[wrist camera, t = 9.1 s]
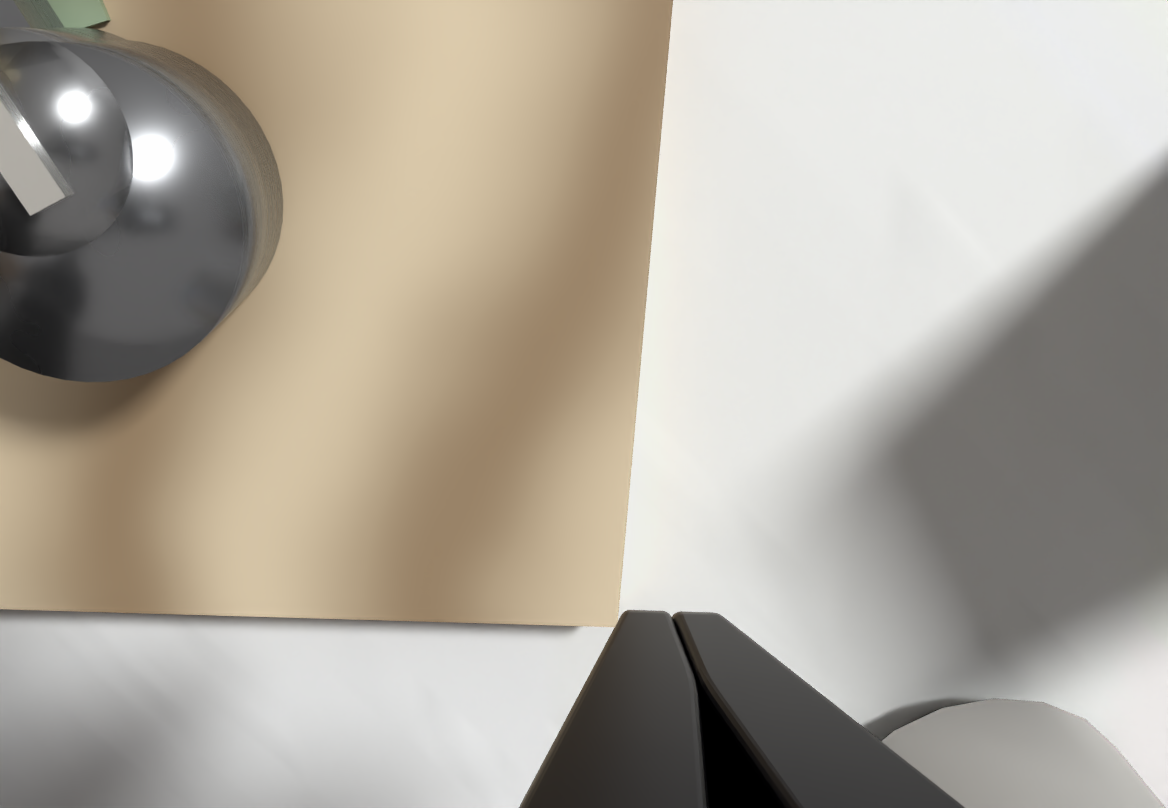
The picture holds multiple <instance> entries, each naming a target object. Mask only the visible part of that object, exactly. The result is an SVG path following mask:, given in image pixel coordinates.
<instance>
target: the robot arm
mask: <svg viewBox="0 0 1168 808" xmlns="http://www.w3.org/2000/svg"><path fill="white" fill-rule="evenodd" d="M519 808H965V807H964V806H963V805H961V804H960V803H959V802H958V801H956V800H955V799H954V798H952V797H951V796H950V795H949V794H947V793H946V792H945V791H944V790H942V789H941V788H940V787H939V786H937V785H936V784H935V783H933V782H932V781H931V780H930V779H928V778H927V777H926V776H925V775H923V774H922V773H921V772H919V771H918V770H917V769H916V768H914V767H913V766H912V765H911V764H909V763H908V762H907V761H906V760H904V759H903V758H902V757H900V756H899V755H898V754H897V753H895V752H894V751H893V750H892V749H890V748H889V747H888V746H887V745H885V744H884V743H883V742H881V741H880V740H879V739H878V738H876V737H875V736H874V735H873V734H871V733H870V732H869V731H867V730H866V729H865V728H864V727H862V726H861V725H860V724H859V723H857V722H856V721H855V720H854V719H852V718H851V717H850V716H848V715H847V714H846V713H845V712H843V711H842V710H841V709H840V708H838V707H837V706H836V705H834V704H833V703H832V702H831V701H829V700H828V699H827V698H826V697H824V696H823V695H822V694H821V693H819V692H818V691H817V690H815V689H814V688H813V687H812V686H810V685H809V684H808V683H807V682H805V681H804V680H803V679H802V678H800V677H799V676H798V675H796V674H795V673H794V672H793V671H791V670H790V669H789V668H788V667H786V666H785V665H784V664H782V663H781V662H780V661H779V660H777V659H776V658H775V657H774V656H772V655H771V654H770V653H769V652H767V651H766V650H765V649H763V648H762V647H761V646H760V645H758V644H757V643H756V642H755V641H753V640H752V639H751V638H749V637H748V636H747V635H746V634H744V633H743V632H742V631H741V630H739V629H738V628H737V627H736V626H734V625H733V624H732V623H730V622H729V621H728V620H727V619H725V618H724V617H723V616H721V615H720V614H717V613H711V612H677V613H675V614H674V615H673V616H672V617H671V616H670V614H669V613H667V612H665V611H646V610H627V611H625V612H624V613H623V614H622V615H621V617H620V618H619V620H618V622H617V624H616V626H615V628H614V630H613V632H612V634H611V635H610V637H609V639H608V641H607V643H606V645H605V647H604V649H603V650H602V652H601V654H600V656H599V658H598V660H597V662H596V664H595V665H594V667H593V669H592V671H591V673H590V675H589V677H588V679H587V681H586V682H585V684H584V686H583V688H582V690H581V692H580V694H579V696H578V697H577V699H576V701H575V703H574V705H573V707H572V709H571V711H570V713H569V714H568V716H567V718H566V720H565V722H564V724H563V726H562V728H561V729H560V731H559V733H558V735H557V737H556V739H555V741H554V743H553V744H552V746H551V748H550V750H549V752H548V754H547V756H546V758H545V760H544V761H543V763H542V765H541V767H540V769H539V771H538V773H537V775H536V776H535V778H534V780H533V782H532V784H531V786H530V788H529V790H528V791H527V793H526V795H525V797H524V799H523V801H522V803H521V805H520V807H519Z"/></svg>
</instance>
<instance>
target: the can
mask: <svg viewBox="0 0 1168 808" xmlns="http://www.w3.org/2000/svg"><path fill="white" fill-rule="evenodd" d="M881 742H883V743H884V744H885V745H887V746H888V747H889V748H890V749H892V750H893V751H894V752H895V753H897V754H898V755H899V756H900V757H902V758H903V759H904V760H906V761H907V762H908V763H909V764H911V765H912V766H913V767H914V768H916V769H917V770H918V771H919V772H921V773H922V774H923V775H925V776H926V777H927V778H928V779H930V780H931V781H932V782H933V783H935V784H936V785H937V786H939V787H940V788H941V789H942V790H944V791H945V792H946V793H947V794H949V795H950V796H951V797H952V798H954V799H955V800H956V801H958V802H959V803H960V804H961V805H963V806H964V807H965V808H1165V806H1164V805H1163V804H1162V803H1161V801H1160V800H1159V799H1158V798H1157V797H1156V795H1155V794H1154V793H1153V792H1152V790H1151V789H1150V788H1149V787H1148V786H1147V784H1146V783H1145V782H1144V781H1143V779H1142V778H1141V777H1140V776H1139V775H1138V773H1137V772H1136V771H1135V770H1134V768H1133V767H1132V766H1131V765H1130V764H1129V762H1128V761H1127V760H1126V759H1125V757H1124V756H1123V755H1122V754H1121V753H1120V751H1119V750H1118V749H1117V748H1116V747H1115V746H1114V745H1113V744H1112V743H1111V742H1110V741H1109V740H1108V739H1107V738H1106V737H1105V736H1103V735H1102V734H1101V733H1100V732H1099V731H1098V730H1097V729H1096V728H1095V727H1094V726H1093V725H1091V724H1090V723H1089V722H1088V721H1087V720H1086V719H1084V718H1081V717H1079V716H1076V715H1074V714H1072V713H1069V712H1067V711H1064V710H1062V709H1059V708H1057V707H1054V706H1052V705H1049V704H1047V703H1044V702H1034V701H1021V700H1008V699H996V698H993V699H988V700H982V701H977V702H972V703H967V704H961V705H956V706H951V707H946V708H941V709H939V710H937V711H934V712H932V713H930V714H928V715H926V716H924V717H922V718H920V719H917V720H915V721H913V722H911V723H909V724H907V725H905V726H902V727H900V728H899V729H897V730H894V731H893V732H892V733H891V734H889V735H888V736H887V737H886V738H885V739H883V740H882V741H881Z"/></svg>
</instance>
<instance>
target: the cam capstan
mask: <svg viewBox="0 0 1168 808" xmlns="http://www.w3.org/2000/svg"><path fill="white" fill-rule="evenodd" d="M282 222H283V193H282V183H281V179H280V174H279V170H278V166H277V162H276V160H275V157H274V154H273V151H272V149H271V146H270V144H269V142H268V140H267V138H266V136H265V134H264V132H263V130H262V128H261V126H260V125H259V123H258V122H257V120H256V119H255V117H254V116H253V114H252V113H251V111H250V110H249V109H248V107H247V106H246V105H245V104H244V103H243V102H242V100H241V99H240V98H239V97H238V96H237V95H236V93H235V92H233V91H232V90H231V89H230V88H229V87H228V86H227V85H226V84H225V83H224V82H223V81H222V80H220V79H219V78H218V77H217V76H215V75H214V74H212V73H211V72H210V71H208V70H207V69H206V68H204V67H203V66H201V65H199V64H198V63H196V62H194V61H192V60H190V59H189V58H187V57H185V56H183V55H181V54H178V53H176V52H173V51H171V50H168V49H166V48H164V47H160V46H156V45H152V44H149V43H145V42H139V41H132V40H126V39H124V38H122V37H119V36H117V35H114V34H112V33H109V32H105V31H101V30H98V29H91V28H65V27H64V26H63V24H62V23H61V21H60V20H59V18H58V16H57V15H56V13H55V12H54V10H53V8H52V7H51V5H50V4H49V2H48V1H47V0H0V358H1V359H3V360H6V361H8V362H10V363H12V364H14V365H16V366H18V367H20V368H23V369H26V370H29V371H32V372H35V373H38V374H41V375H44V376H49V377H53V378H58V379H62V380H70V381H79V382H110V381H117V380H125V379H130V378H134V377H137V376H141V375H145V374H148V373H151V372H153V371H155V370H158V369H160V368H162V367H165V366H167V365H169V364H170V363H172V362H174V361H175V360H177V359H179V358H180V357H182V356H184V355H185V354H186V353H188V352H189V351H190V350H191V349H192V348H194V347H195V346H196V345H197V344H199V343H200V342H201V341H202V340H203V339H204V338H205V337H206V336H207V335H208V334H209V333H210V332H211V331H212V330H213V329H214V328H215V327H216V326H217V325H219V324H220V323H221V322H222V321H223V320H224V319H225V318H226V317H227V316H228V315H229V314H230V313H231V312H232V311H233V310H234V309H235V308H236V307H237V306H238V305H239V304H240V303H241V302H242V301H244V300H245V299H246V297H247V296H248V295H249V294H250V293H251V292H252V291H253V290H254V289H255V288H256V287H257V285H258V284H259V282H260V281H261V279H262V278H263V276H264V275H265V273H266V272H267V270H268V268H269V266H270V264H271V262H272V260H273V257H274V255H275V252H276V249H277V246H278V243H279V239H280V234H281V228H282Z"/></svg>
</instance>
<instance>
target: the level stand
mask: <svg viewBox="0 0 1168 808" xmlns="http://www.w3.org/2000/svg"><path fill="white" fill-rule="evenodd" d="M47 1H48V2H49V4H50V5H51V7H52V8H53V10H54V12H55V13H56V15H57V16H58V18H59V20H60V21H61V23H62V24H63V26H64V27H65V28H91V29H98V30H101V31H105V32H109V33H112V34H114V35H117V36H119V37H122V38H124V39H126V40H132V41H139V42H145V43H149V44H152V45H156V46H160V47H164V48H166V49H168V50H171V51H173V52H176V53H178V54H181V55H183V56H185V57H187V58H189V59H190V60H192V61H194V62H196V63H198V64H199V65H201V66H203V67H204V68H206V69H207V70H208V71H210V72H211V73H212V74H214V75H215V76H217V77H218V78H219V79H220V80H222V81H223V82H224V83H225V84H226V85H227V86H228V87H229V88H230V89H231V90H232V91H233V92H235V93H236V95H237V96H238V97H239V98H240V99H241V100H242V102H243V103H244V104H245V105H246V106H247V107H248V109H249V110H250V111H251V113H252V114H253V116H254V117H255V119H256V120H257V122H258V123H259V125H260V126H261V128H262V130H263V132H264V134H265V136H266V138H267V140H268V142H269V144H270V146H271V149H272V151H273V154H274V157H275V160H276V162H277V166H278V170H279V174H280V179H281V183H282V193H283V222H282V228H281V234H280V239H279V243H278V246H277V249H276V252H275V255H274V257H273V260H272V262H271V264H270V266H269V268H268V270H267V272H266V273H265V275H264V276H263V278H262V279H261V281H260V282H259V284H258V285H257V287H256V288H255V289H254V290H253V291H252V292H251V293H250V294H249V295H248V296H247V297H246V299H245V300H244V301H242V302H241V303H240V304H239V305H238V306H237V307H236V308H235V309H234V310H233V311H232V312H231V313H230V314H229V315H228V316H227V317H226V318H225V319H224V320H223V321H222V322H221V323H220V324H219V325H217V326H216V327H215V328H214V329H213V330H212V331H211V332H210V333H209V334H208V335H207V336H206V337H205V338H204V339H203V340H202V341H201V342H200V343H199V344H197V345H196V346H195V347H194V348H192V349H191V350H190V351H189V352H188V353H186V354H185V355H184V356H182V357H180V358H179V359H177V360H175V361H174V362H172V363H170V364H169V365H167V366H165V367H162V368H160V369H158V370H155V371H153V372H151V373H148V374H145V375H141V376H137V377H134V378H130V379H125V380H117V381H110V382H79V381H70V380H62V379H58V378H53V377H49V376H44V375H41V374H38V373H35V372H32V371H29V370H26V369H23V368H20V367H18V366H16V365H14V364H12V363H10V362H8V361H6V360H3V359H1V358H0V609H11V610H45V611H80V612H114V613H148V614H183V615H217V616H251V617H286V618H320V619H354V620H389V621H423V622H457V623H492V624H526V625H560V626H595V627H615V626H616V624H617V622H618V612H619V600H620V589H621V578H622V567H623V555H624V544H625V533H626V522H627V511H628V499H629V488H630V477H631V466H632V454H633V443H634V432H635V421H636V409H637V398H638V387H639V376H640V365H641V353H642V342H643V331H644V320H645V308H646V297H647V286H648V275H649V263H650V252H651V241H652V230H653V219H654V207H655V196H656V185H657V174H658V162H659V151H660V140H661V129H662V118H663V106H664V95H665V84H666V73H667V61H668V50H669V39H670V28H671V16H672V5H673V0H47Z"/></svg>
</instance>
